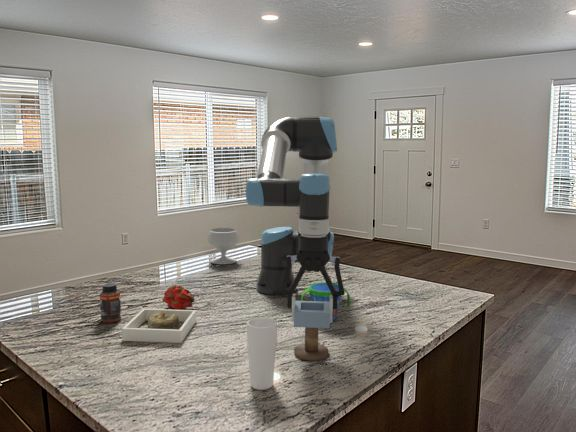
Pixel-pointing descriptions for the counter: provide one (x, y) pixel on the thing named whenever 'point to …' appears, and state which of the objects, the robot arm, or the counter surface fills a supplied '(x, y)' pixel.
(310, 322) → the collar
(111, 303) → the supplement bottle
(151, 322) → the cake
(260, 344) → the drinking glass
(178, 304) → the dragon fruit
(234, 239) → the chalice
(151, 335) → the cream rectangular open frame
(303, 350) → the post
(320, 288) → the snack cup
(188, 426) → the counter surface
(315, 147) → the robot arm
